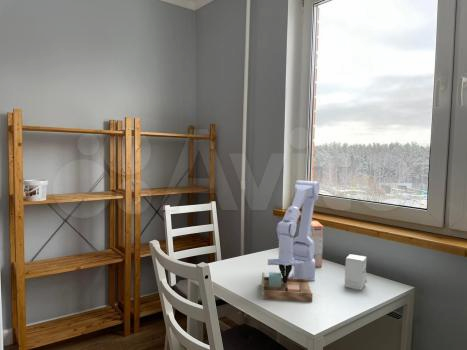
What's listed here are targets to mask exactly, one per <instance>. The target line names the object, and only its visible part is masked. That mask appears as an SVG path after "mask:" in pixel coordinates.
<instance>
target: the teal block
mask: <svg viewBox="0 0 467 350" xmlns="http://www.w3.org/2000/svg"><path fill="white" fill-rule="evenodd" d="M268 277H269V286H278V287H281V278H282V274H281V272H273V271H268Z"/></svg>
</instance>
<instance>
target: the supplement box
mask: <svg viewBox="0 0 467 350" xmlns="http://www.w3.org/2000/svg"><path fill="white" fill-rule="evenodd" d="M344 269H345V270H344V285H343V287H345V288H348V289H349V288H350V289H353V290H358V291H362V290H363V288H364V287H365V286H366V279H365V278H366V277H367V275H366V273H367V256H365V255H358V254H351V253H350V254H348V256H346V258H345V268H344Z"/></svg>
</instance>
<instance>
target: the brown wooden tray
mask: <svg viewBox="0 0 467 350" xmlns="http://www.w3.org/2000/svg"><path fill="white" fill-rule="evenodd" d="M287 285H299V289H300V292H287ZM260 289H261V290H260V291H261V292H260V299H263V300H277V301H280V300H281V301H293V302H294V301H295V302H296V301H297V302H307V303H308V302H311V303H312V302H313V294H314V293H313V292H312V291H311V287H310V283H309V280H308V279H297V278H293V277H288V279H287V283H283V277H281V287H278V286H269V276H265V272H261V285H260Z"/></svg>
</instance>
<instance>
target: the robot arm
mask: <svg viewBox="0 0 467 350" xmlns="http://www.w3.org/2000/svg"><path fill="white" fill-rule="evenodd" d="M294 193H295V194H294V197H293V200H292V204H291V206H289V207H287V209H286V211H285V213H284V216H283V217H282V220H280V221H279V222H278V223H277V226H276V233H277V239H278V258H272V259H270V258H267V266H278V269H279V271H280V273H281V278H283V283H287V279H288V278H289V276H290V274H291V272H292V269H293V272H292V274H291V275H292V278H297V279H308V281H312V282H313V281H314V282H315V281H316V277H315V276H316V267H315V259H312V258H313V256H314V253H315V248H314V246H315V243H314V242H313V240H312V239H311V238H310V237H309V236H310V229H311V222H312V221H313V215H314V207H315V203H316V201H318V199H319V195H320V183H319V182H318V180H317V181H316V180H315V181H314V180H299V179H298V180H296V181H295V184H294ZM301 207H302V209H301ZM300 209H301V211H300ZM299 218H300V222H299V230H298V235H296V237H294V236H295V234H296V232H297V226H298V225H297V222H298V220H299ZM306 243H308V244H309V245H308V244H306Z"/></svg>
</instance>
